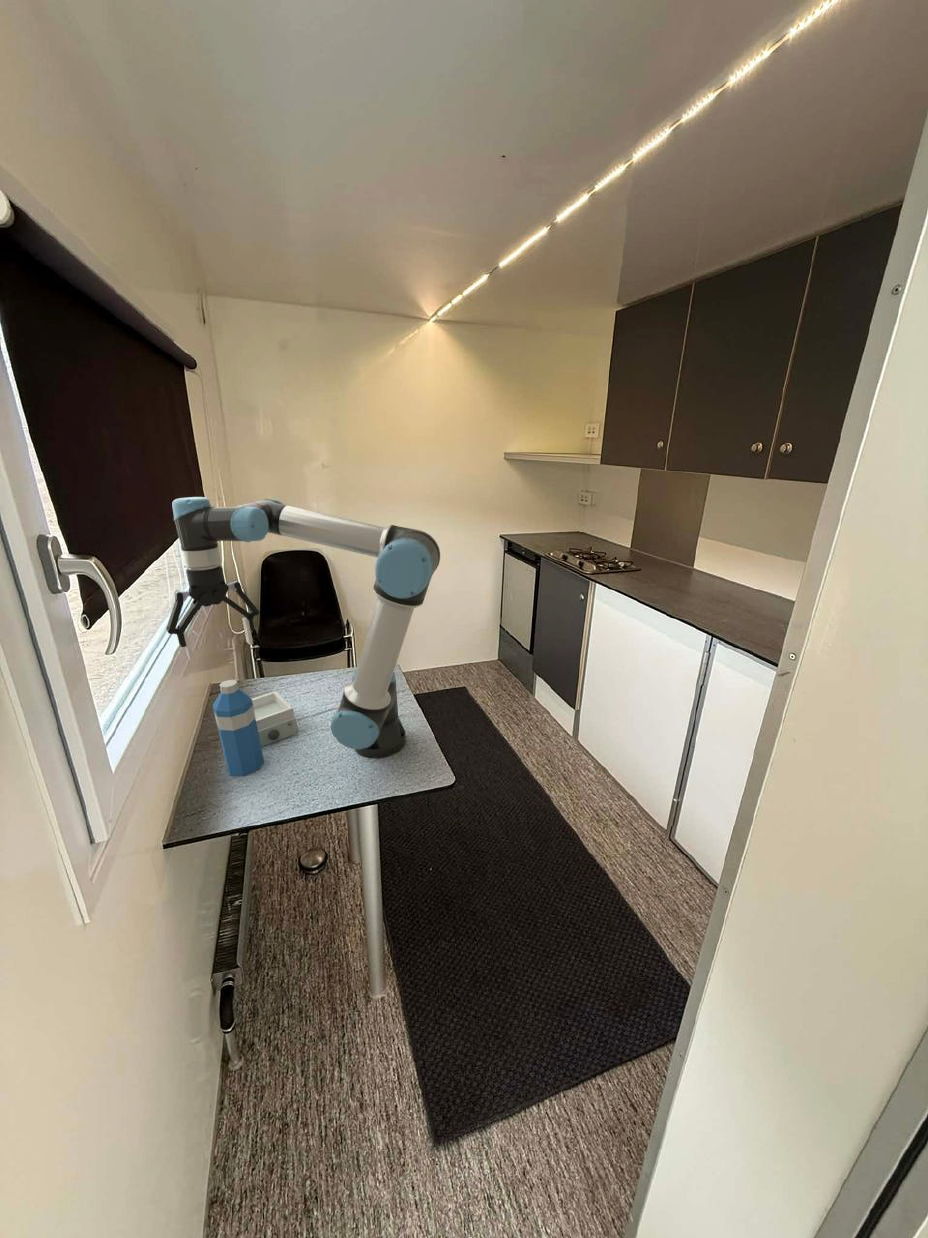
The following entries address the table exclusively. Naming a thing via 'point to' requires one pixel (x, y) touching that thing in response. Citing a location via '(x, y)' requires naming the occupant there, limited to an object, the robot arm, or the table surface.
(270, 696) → the open storage box
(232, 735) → the water bottle
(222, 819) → the table surface
